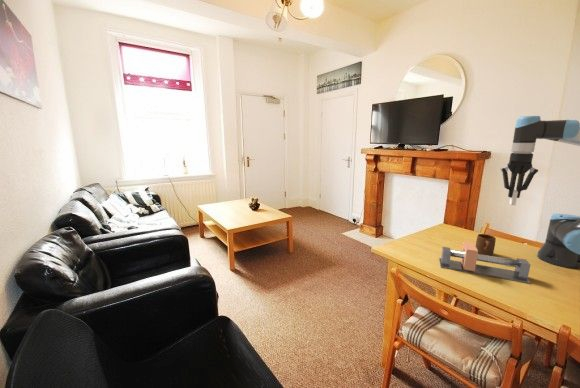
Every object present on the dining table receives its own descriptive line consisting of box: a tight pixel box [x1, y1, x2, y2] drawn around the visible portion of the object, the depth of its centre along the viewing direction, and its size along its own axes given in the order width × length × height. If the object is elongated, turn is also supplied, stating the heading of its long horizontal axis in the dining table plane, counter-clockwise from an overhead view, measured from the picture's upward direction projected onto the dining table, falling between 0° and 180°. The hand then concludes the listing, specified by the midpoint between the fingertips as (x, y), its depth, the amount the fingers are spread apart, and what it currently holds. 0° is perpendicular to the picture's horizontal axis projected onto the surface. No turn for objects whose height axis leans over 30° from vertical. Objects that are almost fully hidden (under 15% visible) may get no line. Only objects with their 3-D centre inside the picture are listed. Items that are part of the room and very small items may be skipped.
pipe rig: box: [438, 246, 532, 285], centre depth 115 cm, size 32×9×8 cm, turn 64°
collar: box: [460, 241, 478, 271], centre depth 117 cm, size 4×10×10 cm, turn 155°
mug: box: [475, 233, 497, 256], centre depth 130 cm, size 12×8×9 cm, turn 150°
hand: (512, 204), depth 118 cm, fingers closed
